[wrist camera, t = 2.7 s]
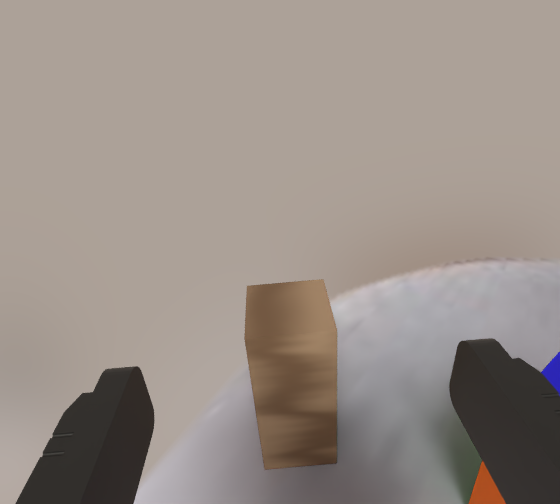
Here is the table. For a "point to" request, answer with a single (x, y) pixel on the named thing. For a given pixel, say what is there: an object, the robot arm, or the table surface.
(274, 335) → the pillar
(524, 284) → the table surface
